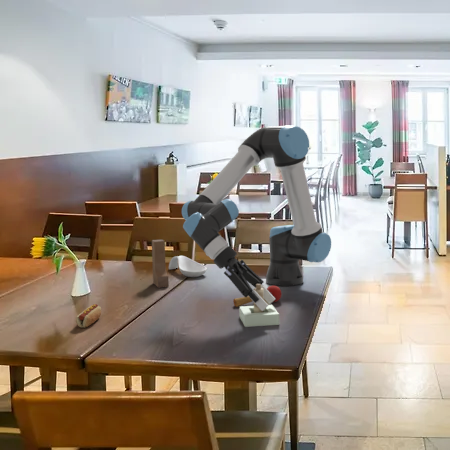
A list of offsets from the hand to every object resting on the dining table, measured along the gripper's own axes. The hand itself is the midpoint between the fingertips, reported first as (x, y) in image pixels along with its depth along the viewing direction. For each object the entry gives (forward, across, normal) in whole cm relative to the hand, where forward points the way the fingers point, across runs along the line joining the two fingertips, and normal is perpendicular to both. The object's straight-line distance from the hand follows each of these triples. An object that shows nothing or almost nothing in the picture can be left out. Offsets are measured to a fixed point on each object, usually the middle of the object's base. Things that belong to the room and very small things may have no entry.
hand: (269, 304), depth 198 cm
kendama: (-3, -19, -11) cm, 22 cm away
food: (-35, +18, -44) cm, 59 cm away
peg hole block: (+1, -2, -7) cm, 8 cm away
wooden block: (-35, -34, -44) cm, 66 cm away
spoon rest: (-34, -57, -43) cm, 79 cm away
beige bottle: (+1, 0, -6) cm, 7 cm away
